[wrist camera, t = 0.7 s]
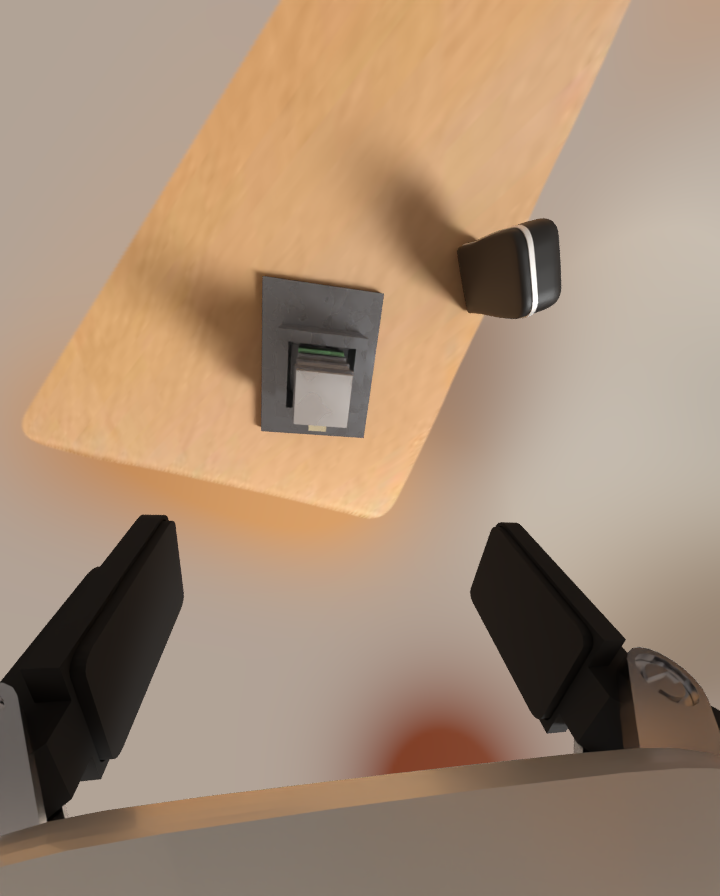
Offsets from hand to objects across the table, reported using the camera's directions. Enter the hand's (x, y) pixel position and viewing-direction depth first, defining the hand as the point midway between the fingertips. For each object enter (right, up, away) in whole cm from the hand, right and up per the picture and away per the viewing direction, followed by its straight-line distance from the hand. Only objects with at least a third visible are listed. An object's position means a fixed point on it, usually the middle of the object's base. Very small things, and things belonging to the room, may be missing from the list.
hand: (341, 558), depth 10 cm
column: (-4, +12, +26) cm, 29 cm away
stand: (-4, +13, +27) cm, 30 cm away
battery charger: (+13, +22, +25) cm, 36 cm away
